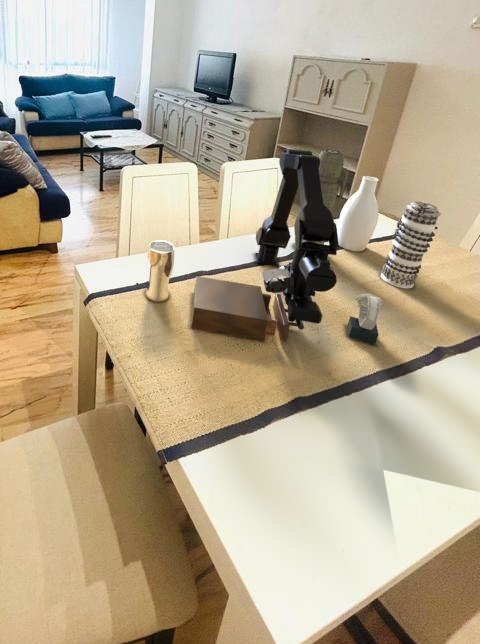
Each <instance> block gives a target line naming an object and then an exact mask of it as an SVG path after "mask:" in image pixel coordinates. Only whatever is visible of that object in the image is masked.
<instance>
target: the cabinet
mask: <svg viewBox="0 0 480 644" xmlns="http://www.w3.org/2000/svg"><path fill="white" fill-rule="evenodd" d="M262 293H263V290H262V286H260V285H256V284H255V285H253V284H248V283H242V282H237V281H229V280H223V279H216V278H211V277H205V276H199V275H196V276H195V283H194V290H193V299H192V313H191V329H194V330H200V331H205V332H209V333H215V334H220V335H226V336H233V337H237V338H243V339H248V340H253V341H259V342H264V339H265V335H266V334H265V331H266V326H267V322H268V319H267V314H266V309H265V304H264V300H263V295H262Z"/></svg>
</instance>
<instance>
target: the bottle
mask: <svg viewBox="0 0 480 644" xmlns="http://www.w3.org/2000/svg"><path fill="white" fill-rule="evenodd" d="M361 180H362V181H361V183H360V185H359V188H358V190H357V191H356V192H355V193H353V194H352V195H351V196H350V197H349V198H348V200H347V201H346V202H345V203H344V205H343V208H342V209H341V211H340V215H339V219H338V223H337V227H336V228H337V233H338V244H339V247H340V248H342V249H344V250H347V251H351V252H363V251H364V250H366V248H367V246H368V244H369V242H370V241H371V239H372V237H373V235H374V232H375V230H376V227H377V225H378V221H379V203H378V200H377V197H376V189H377V185H378V182H379V178H378V177H374V176H369V175H363V176H362V179H361Z"/></svg>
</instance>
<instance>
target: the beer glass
mask: <svg viewBox="0 0 480 644" xmlns="http://www.w3.org/2000/svg"><path fill="white" fill-rule="evenodd" d="M175 251H176V247H175V245H174V244H173V243H171V242H170V241H167V240H162V239H160V240H159V239H158V240H153V241H151V242H150V243H149V245H148V252H147V258H146V270H147V279H148V283H147V287H146V290H145V296H146V297H147V298H148V299H149V300H150V301H153V302H157V303H158V302H160V303H161V302H164V301H166V300H167V299H169V282H170V279H171V276H172V273H173V270H174V264H175V253H176V252H175Z"/></svg>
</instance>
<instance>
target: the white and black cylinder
mask: <svg viewBox="0 0 480 644" xmlns="http://www.w3.org/2000/svg"><path fill="white" fill-rule="evenodd" d="M441 215H442V213H441V212H440V211H439V210H438V207H437V206H435V205H433V204H431V203H428V202H425V201H424V202H423V201H413V202H411V203H410V204H406V205H405V209H404V212H403V214H402V216H400V217H399V218H398V219H397V223H396V228H395V229H394V230H395V231H394V233H393V236H392V238H394V239H392V247H391V249H390V251H389V253H388V254H387V255H386V259H385V263H383V267H382V270H381V273H380V278H381V279H382V280H383V281H384V282H386V283H387V284H389V285H392V286H393V287H397V288H400V289H412V288H413V287H415V283H416V281H417V279H418V274H419V273H420V269H422V262H423V257H424V254H426V253H428V249H429V248H431V245H430V243H431V242H433V241H434V238H433V237H435V236H436V234H435V232H433V231H434V230H435V231H436V230H438V228H439V227H438V226H437V222H438V217H440V216H441Z"/></svg>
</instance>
